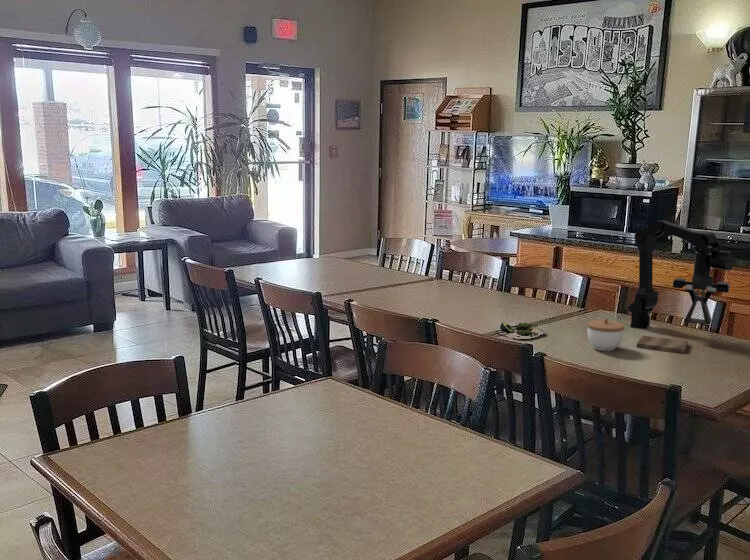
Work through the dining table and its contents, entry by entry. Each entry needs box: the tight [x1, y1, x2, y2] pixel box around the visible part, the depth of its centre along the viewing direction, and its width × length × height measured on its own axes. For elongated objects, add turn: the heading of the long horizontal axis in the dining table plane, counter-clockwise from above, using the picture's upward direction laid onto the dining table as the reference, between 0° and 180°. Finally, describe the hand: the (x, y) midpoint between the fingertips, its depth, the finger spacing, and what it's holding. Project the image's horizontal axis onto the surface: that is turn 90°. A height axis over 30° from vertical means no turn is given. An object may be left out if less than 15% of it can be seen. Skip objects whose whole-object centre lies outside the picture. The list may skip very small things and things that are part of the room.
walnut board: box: [636, 335, 689, 355], centre depth 258 cm, size 16×12×2 cm
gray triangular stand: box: [683, 289, 712, 326], centre depth 262 cm, size 9×6×12 cm, turn 60°
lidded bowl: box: [587, 318, 625, 352], centre depth 255 cm, size 13×13×11 cm
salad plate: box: [500, 321, 546, 337], centre depth 276 cm, size 19×18×5 cm
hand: (698, 307), depth 262 cm, fingers closed on gray triangular stand, 3 cm apart
